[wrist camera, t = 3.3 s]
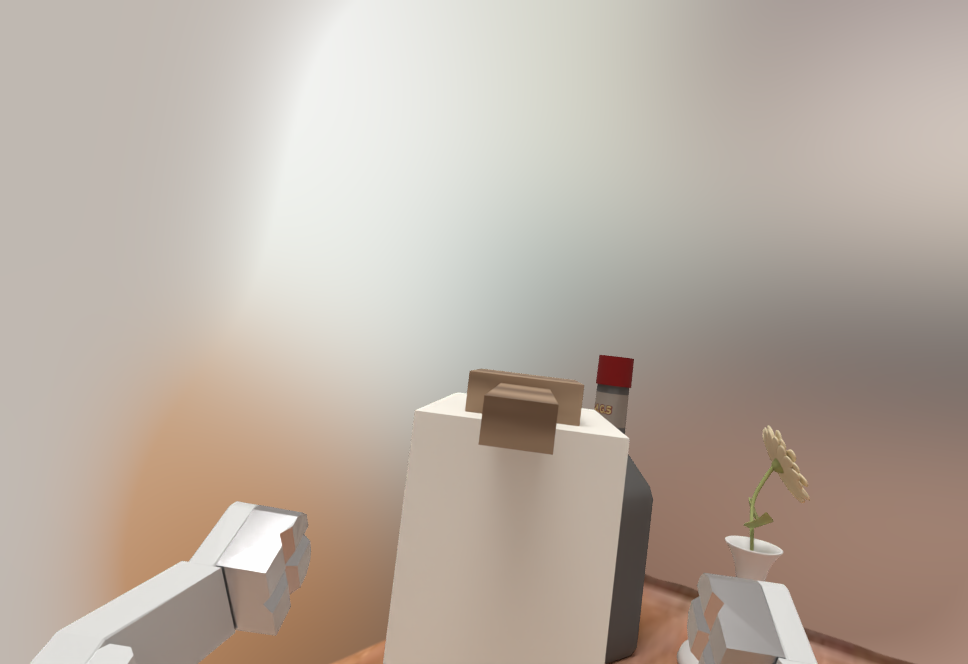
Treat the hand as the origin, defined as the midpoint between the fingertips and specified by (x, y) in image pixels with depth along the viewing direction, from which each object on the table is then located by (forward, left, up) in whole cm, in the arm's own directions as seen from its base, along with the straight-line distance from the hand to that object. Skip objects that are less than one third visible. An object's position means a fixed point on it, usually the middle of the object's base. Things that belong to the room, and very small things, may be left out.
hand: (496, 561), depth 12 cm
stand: (+10, +27, -24) cm, 38 cm away
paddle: (+7, +20, +1) cm, 21 cm away
